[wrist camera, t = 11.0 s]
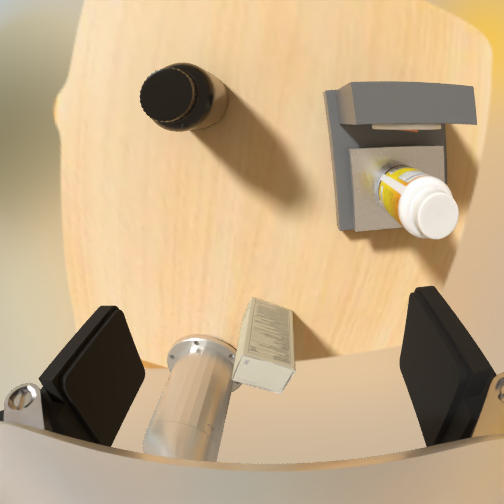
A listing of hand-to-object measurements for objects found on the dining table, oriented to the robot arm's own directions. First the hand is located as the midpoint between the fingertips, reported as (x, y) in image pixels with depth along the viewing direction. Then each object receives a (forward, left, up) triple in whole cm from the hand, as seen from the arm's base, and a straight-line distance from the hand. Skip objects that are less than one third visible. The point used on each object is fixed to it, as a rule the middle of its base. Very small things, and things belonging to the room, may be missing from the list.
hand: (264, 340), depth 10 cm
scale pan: (-2, -13, -28) cm, 30 cm away
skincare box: (-19, +4, -30) cm, 35 cm away
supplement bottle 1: (+10, +8, -30) cm, 33 cm away
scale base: (+1, -13, -30) cm, 32 cm away
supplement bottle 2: (-2, -13, -26) cm, 29 cm away
